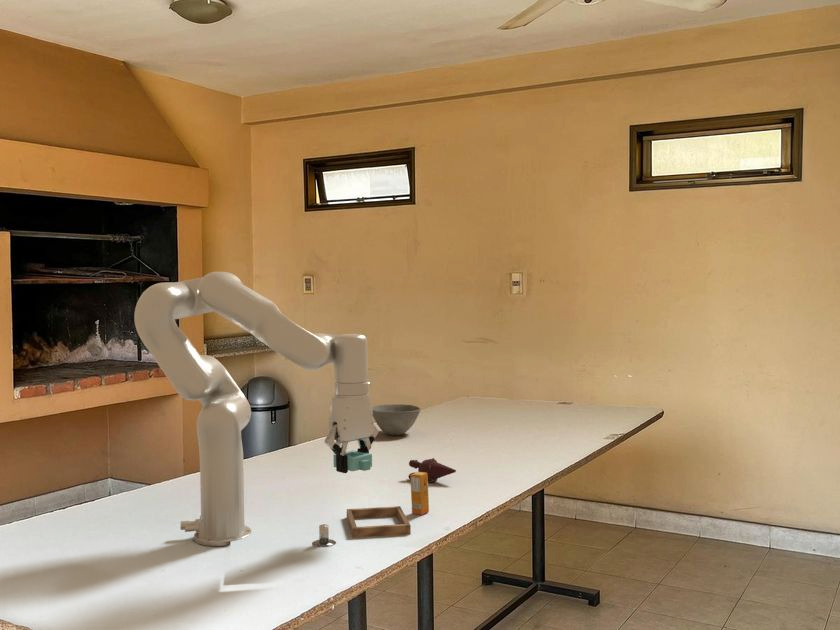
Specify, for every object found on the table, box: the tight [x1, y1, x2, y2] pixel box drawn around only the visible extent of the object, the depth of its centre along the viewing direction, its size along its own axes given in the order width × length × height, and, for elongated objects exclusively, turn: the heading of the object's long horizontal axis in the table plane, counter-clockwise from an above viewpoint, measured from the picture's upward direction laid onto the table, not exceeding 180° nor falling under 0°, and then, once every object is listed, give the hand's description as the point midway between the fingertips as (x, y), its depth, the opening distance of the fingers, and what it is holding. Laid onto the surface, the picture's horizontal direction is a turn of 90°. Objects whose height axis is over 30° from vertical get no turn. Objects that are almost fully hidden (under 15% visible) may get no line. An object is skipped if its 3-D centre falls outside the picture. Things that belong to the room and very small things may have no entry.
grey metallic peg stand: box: [311, 523, 337, 548], centre depth 173 cm, size 5×5×5 cm
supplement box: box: [410, 471, 430, 516], centre depth 198 cm, size 3×3×10 cm
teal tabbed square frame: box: [333, 450, 373, 472], centre depth 179 cm, size 10×6×3 cm, turn 47°
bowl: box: [372, 403, 422, 436], centre depth 297 cm, size 19×19×10 cm
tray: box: [346, 505, 412, 539], centre depth 186 cm, size 13×15×3 cm
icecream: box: [408, 457, 457, 484], centre depth 229 cm, size 7×7×15 cm
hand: (352, 468), depth 179 cm, fingers closed on teal tabbed square frame, 5 cm apart
